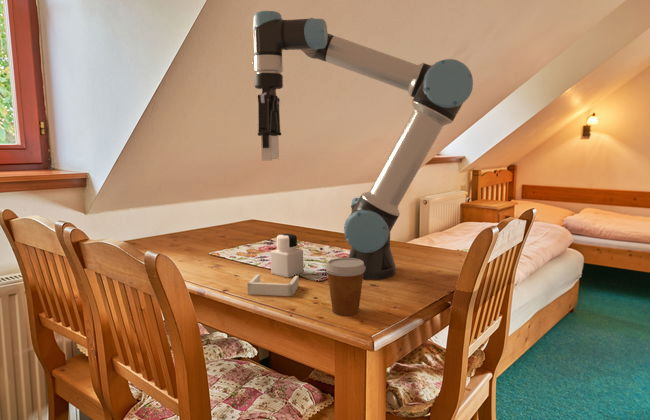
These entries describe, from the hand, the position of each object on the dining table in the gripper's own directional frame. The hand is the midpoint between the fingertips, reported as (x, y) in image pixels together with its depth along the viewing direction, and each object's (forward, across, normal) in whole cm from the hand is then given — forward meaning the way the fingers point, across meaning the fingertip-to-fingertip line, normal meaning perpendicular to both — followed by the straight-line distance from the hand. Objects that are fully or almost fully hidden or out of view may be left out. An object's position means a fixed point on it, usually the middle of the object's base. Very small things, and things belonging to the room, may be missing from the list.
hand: (270, 159), depth 134 cm
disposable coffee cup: (+35, +20, +23) cm, 47 cm away
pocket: (+35, +7, +2) cm, 36 cm away
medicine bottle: (+35, -9, +2) cm, 36 cm away
